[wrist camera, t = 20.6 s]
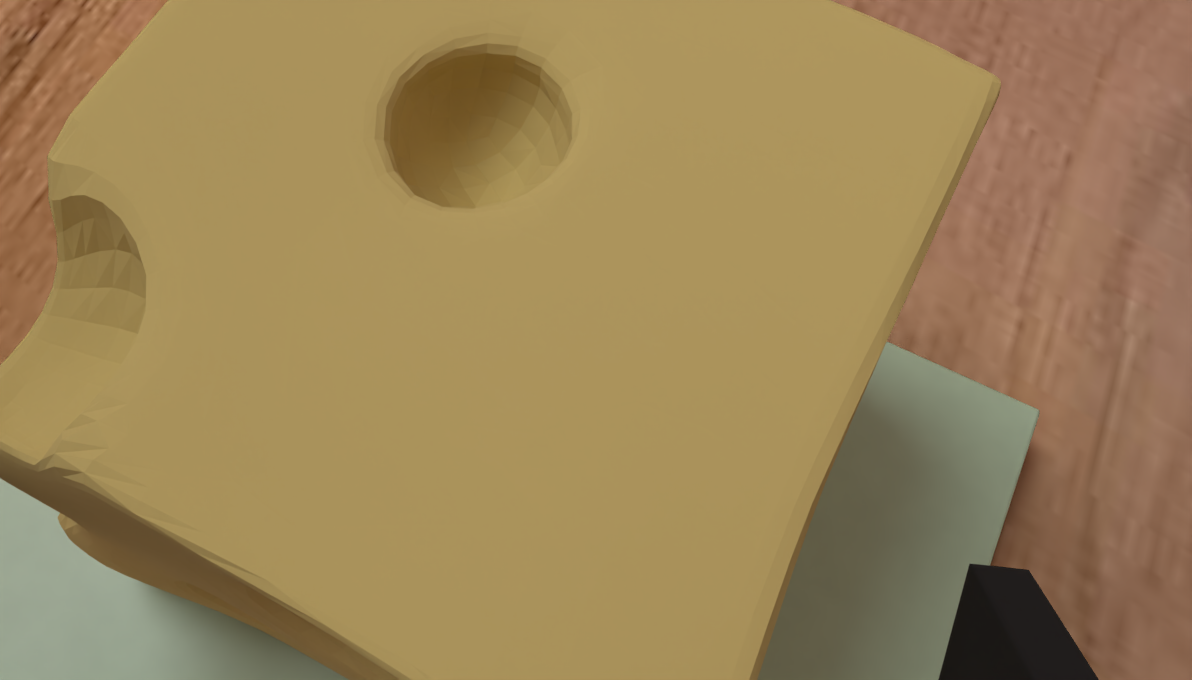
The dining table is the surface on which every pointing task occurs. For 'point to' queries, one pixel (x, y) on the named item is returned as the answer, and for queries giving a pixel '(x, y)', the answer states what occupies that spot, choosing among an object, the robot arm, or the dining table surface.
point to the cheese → (480, 317)
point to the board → (805, 622)
